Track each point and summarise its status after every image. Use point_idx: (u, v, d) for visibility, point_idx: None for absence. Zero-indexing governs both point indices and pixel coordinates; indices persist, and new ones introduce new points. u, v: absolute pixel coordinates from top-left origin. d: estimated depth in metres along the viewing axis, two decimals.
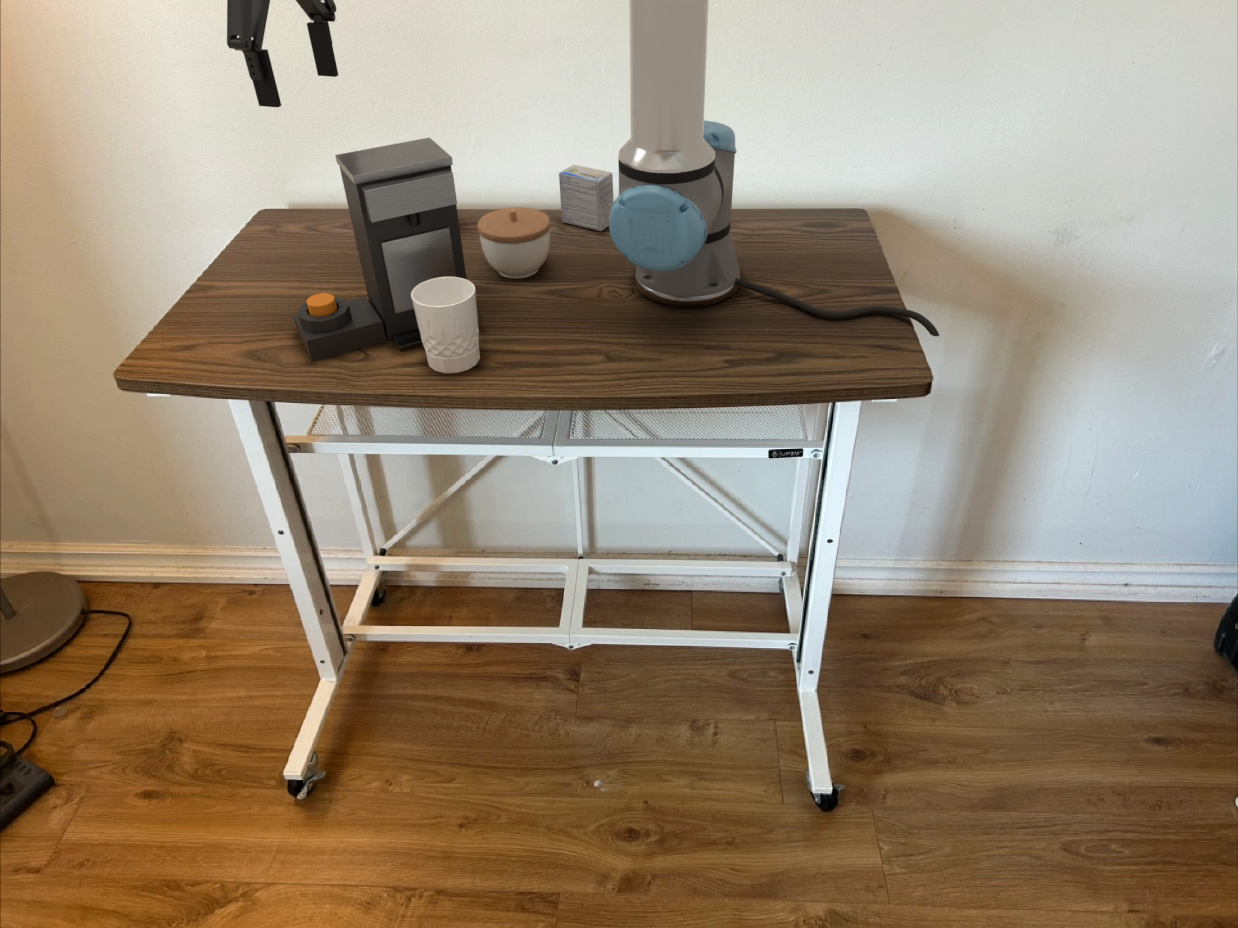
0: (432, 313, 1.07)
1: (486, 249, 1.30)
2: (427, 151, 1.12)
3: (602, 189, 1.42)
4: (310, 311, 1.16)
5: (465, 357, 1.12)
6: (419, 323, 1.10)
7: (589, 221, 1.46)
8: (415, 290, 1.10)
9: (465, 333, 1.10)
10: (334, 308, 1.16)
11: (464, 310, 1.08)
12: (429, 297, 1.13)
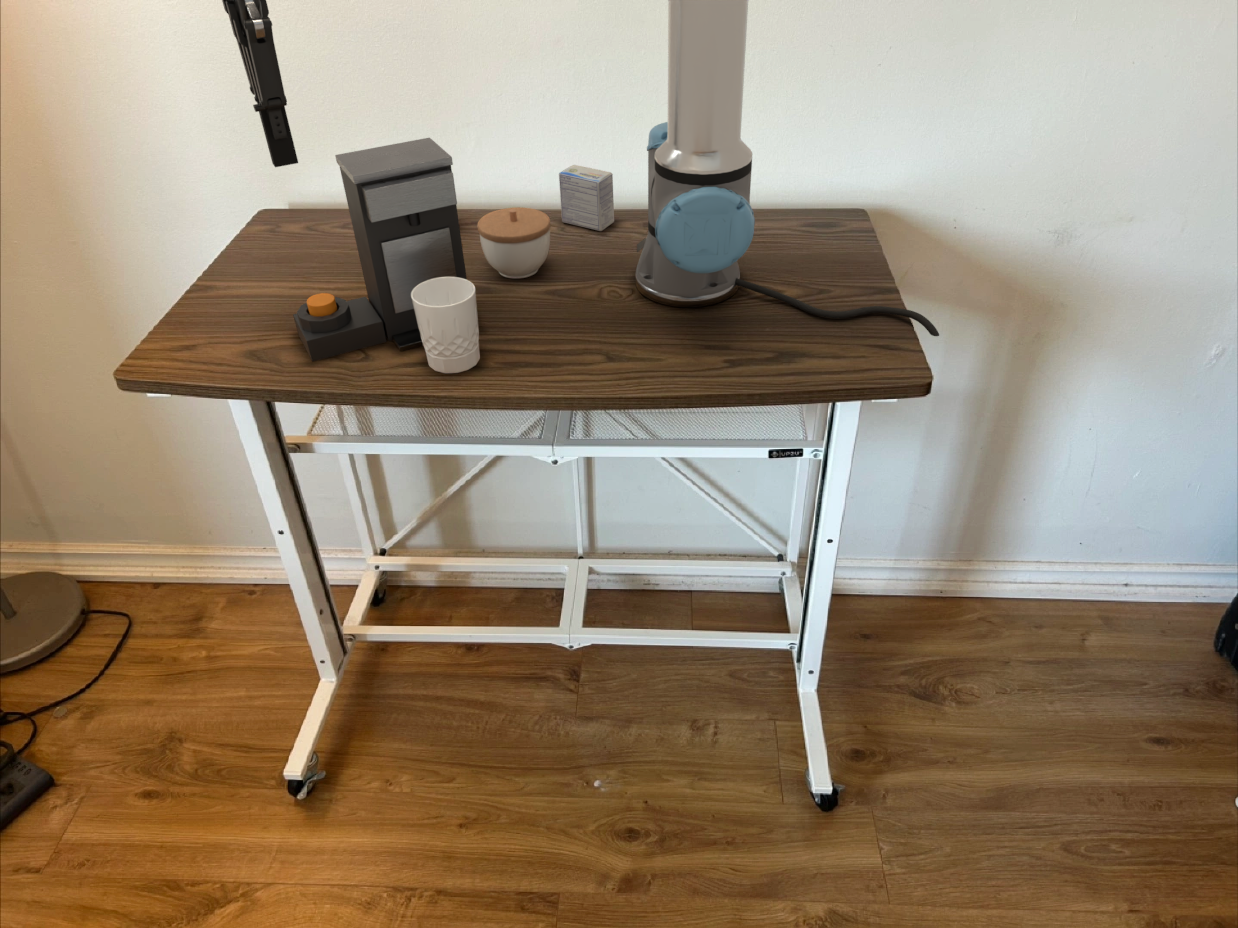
0: (432, 313, 1.07)
1: (486, 249, 1.30)
2: (427, 151, 1.12)
3: (602, 189, 1.42)
4: (310, 311, 1.16)
5: (465, 357, 1.12)
6: (419, 323, 1.10)
7: (590, 221, 1.46)
8: (415, 290, 1.10)
9: (465, 333, 1.10)
10: (334, 308, 1.16)
11: (464, 310, 1.08)
12: (429, 297, 1.13)
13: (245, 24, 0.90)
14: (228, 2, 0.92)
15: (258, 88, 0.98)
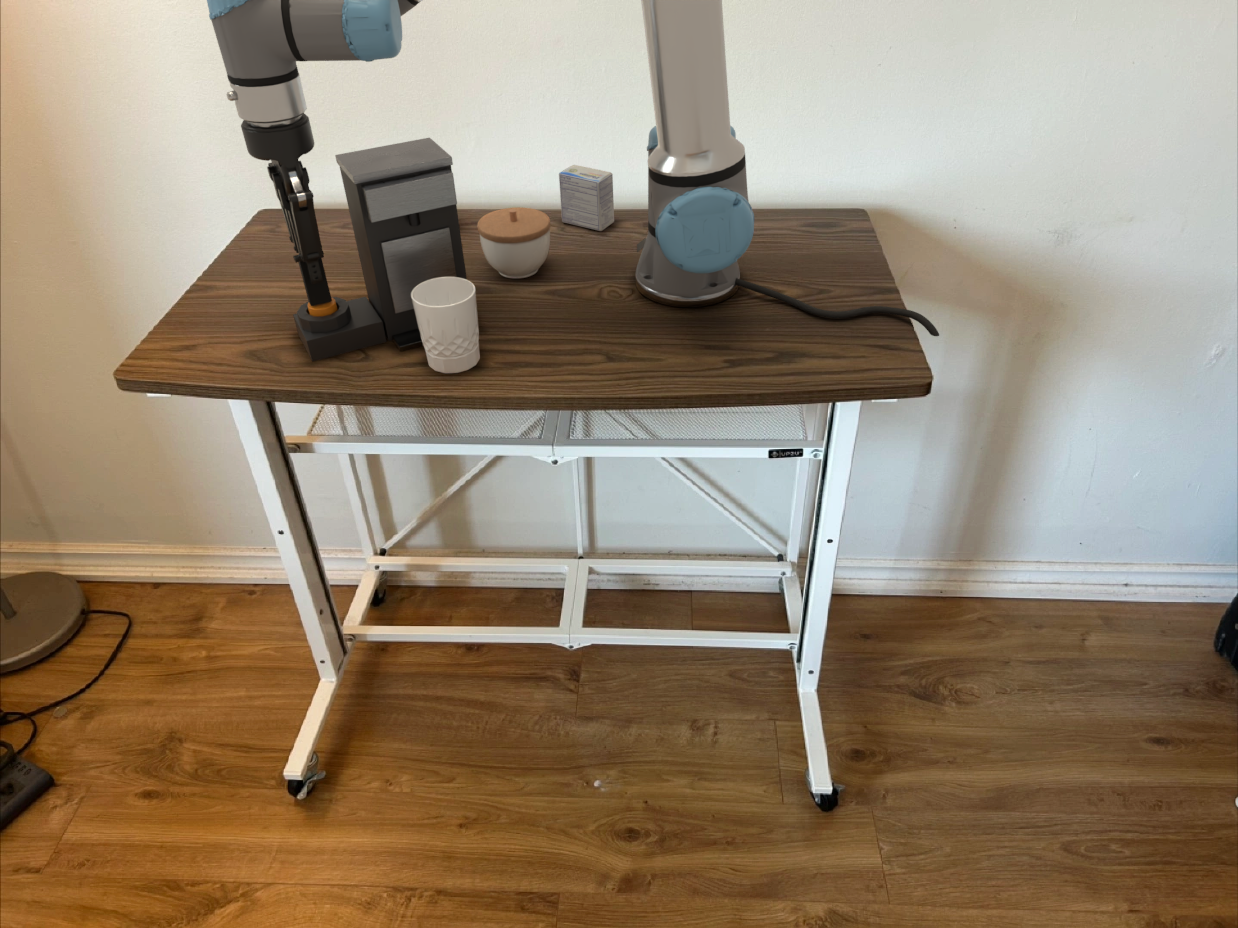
0: (432, 313, 1.07)
1: (486, 249, 1.30)
2: (427, 151, 1.12)
3: (602, 189, 1.42)
4: (311, 314, 1.16)
5: (465, 357, 1.12)
6: (419, 323, 1.10)
7: (589, 221, 1.46)
8: (415, 290, 1.10)
9: (465, 333, 1.10)
10: (335, 311, 1.17)
11: (464, 310, 1.08)
12: (429, 297, 1.13)
13: (290, 198, 1.02)
14: (274, 175, 1.04)
15: (298, 243, 1.09)
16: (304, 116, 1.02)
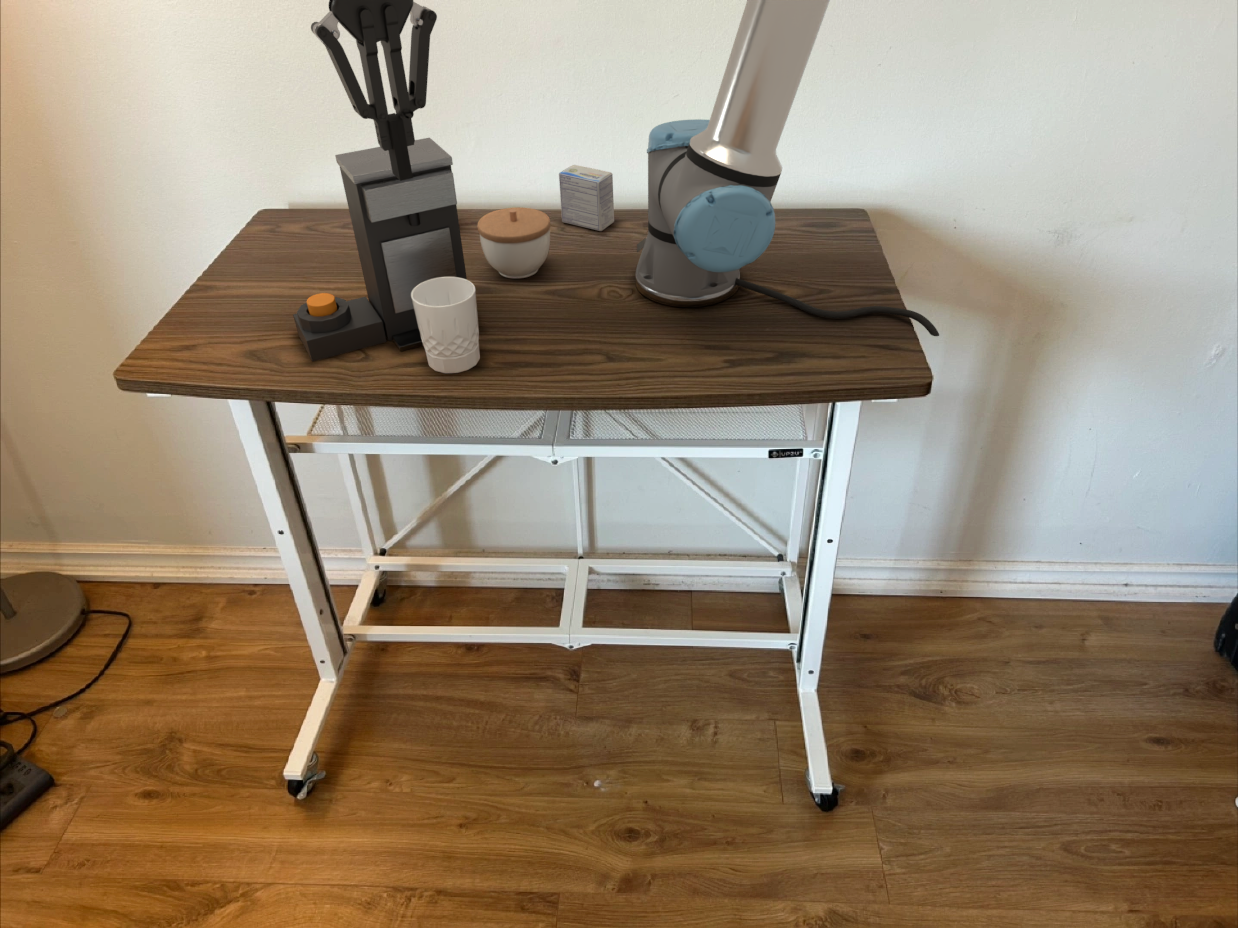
0: (432, 313, 1.07)
1: (486, 249, 1.30)
2: (427, 151, 1.12)
3: (602, 189, 1.42)
4: (310, 311, 1.16)
5: (465, 357, 1.12)
6: (419, 323, 1.10)
7: (589, 221, 1.46)
8: (415, 290, 1.10)
9: (465, 333, 1.10)
10: (334, 308, 1.16)
11: (464, 310, 1.08)
12: (429, 297, 1.13)
13: None
14: None
15: (367, 93, 0.96)
16: None
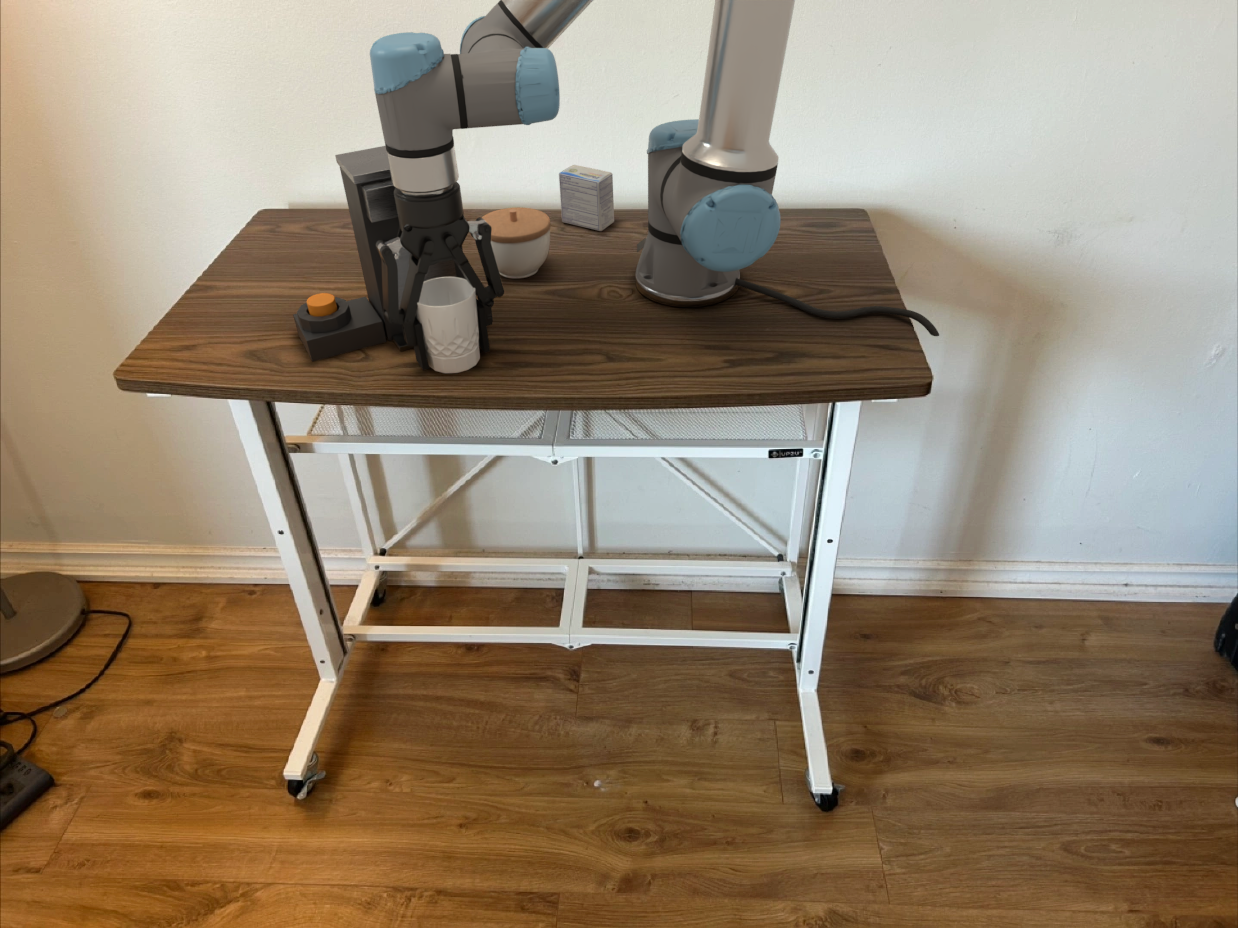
0: (432, 313, 1.07)
1: None
2: None
3: (602, 189, 1.42)
4: (310, 311, 1.16)
5: (465, 357, 1.12)
6: None
7: (589, 221, 1.46)
8: None
9: (465, 333, 1.10)
10: (334, 308, 1.16)
11: (464, 310, 1.08)
12: (429, 297, 1.13)
13: None
14: None
15: (402, 298, 1.09)
16: (429, 197, 0.99)
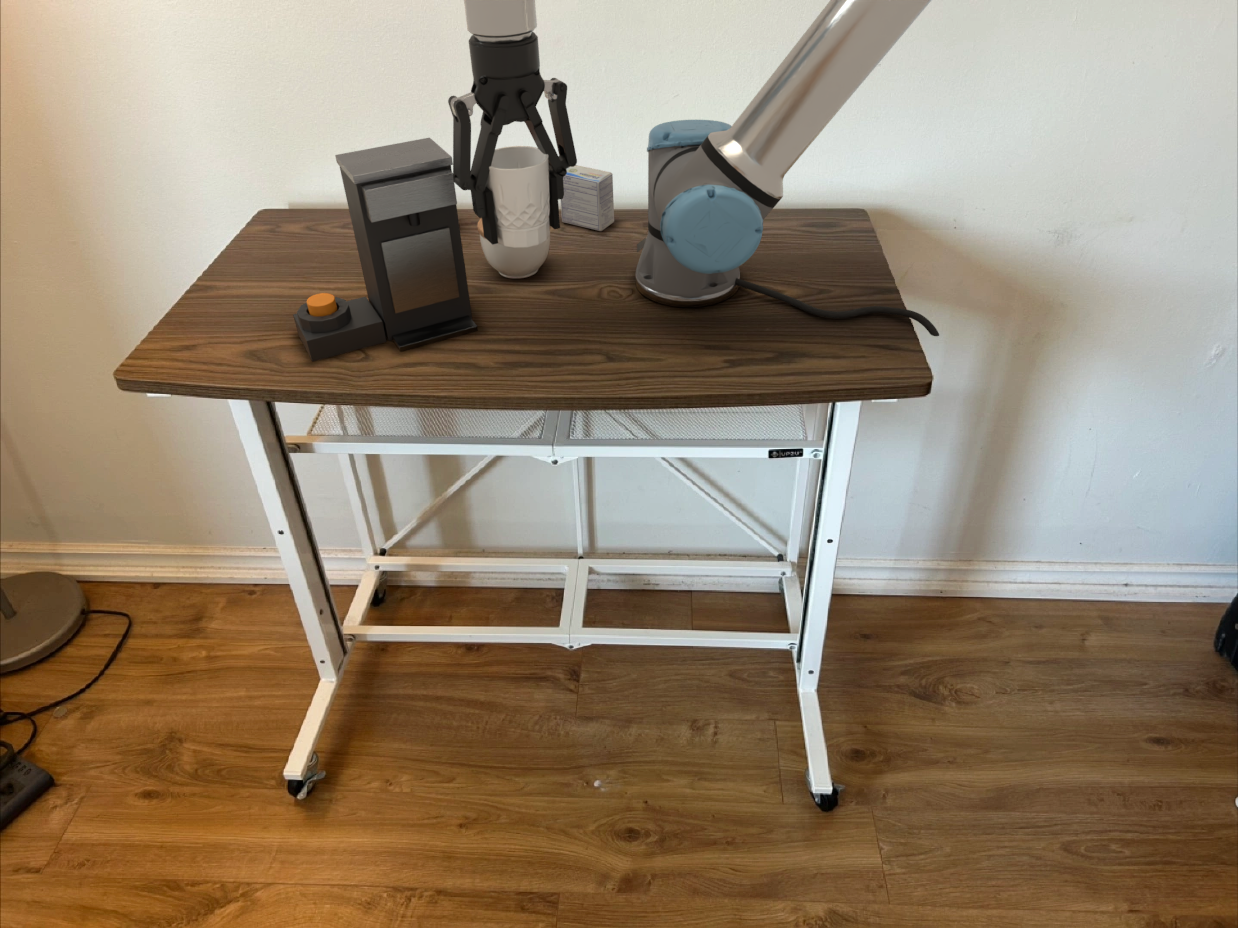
0: (505, 178, 1.02)
1: (486, 249, 1.30)
2: (427, 151, 1.12)
3: (602, 189, 1.42)
4: (310, 311, 1.16)
5: (536, 229, 1.07)
6: None
7: (589, 221, 1.46)
8: None
9: (538, 202, 1.05)
10: (334, 308, 1.16)
11: (538, 175, 1.03)
12: (498, 168, 1.08)
13: None
14: None
15: (472, 164, 1.04)
16: (507, 43, 0.94)
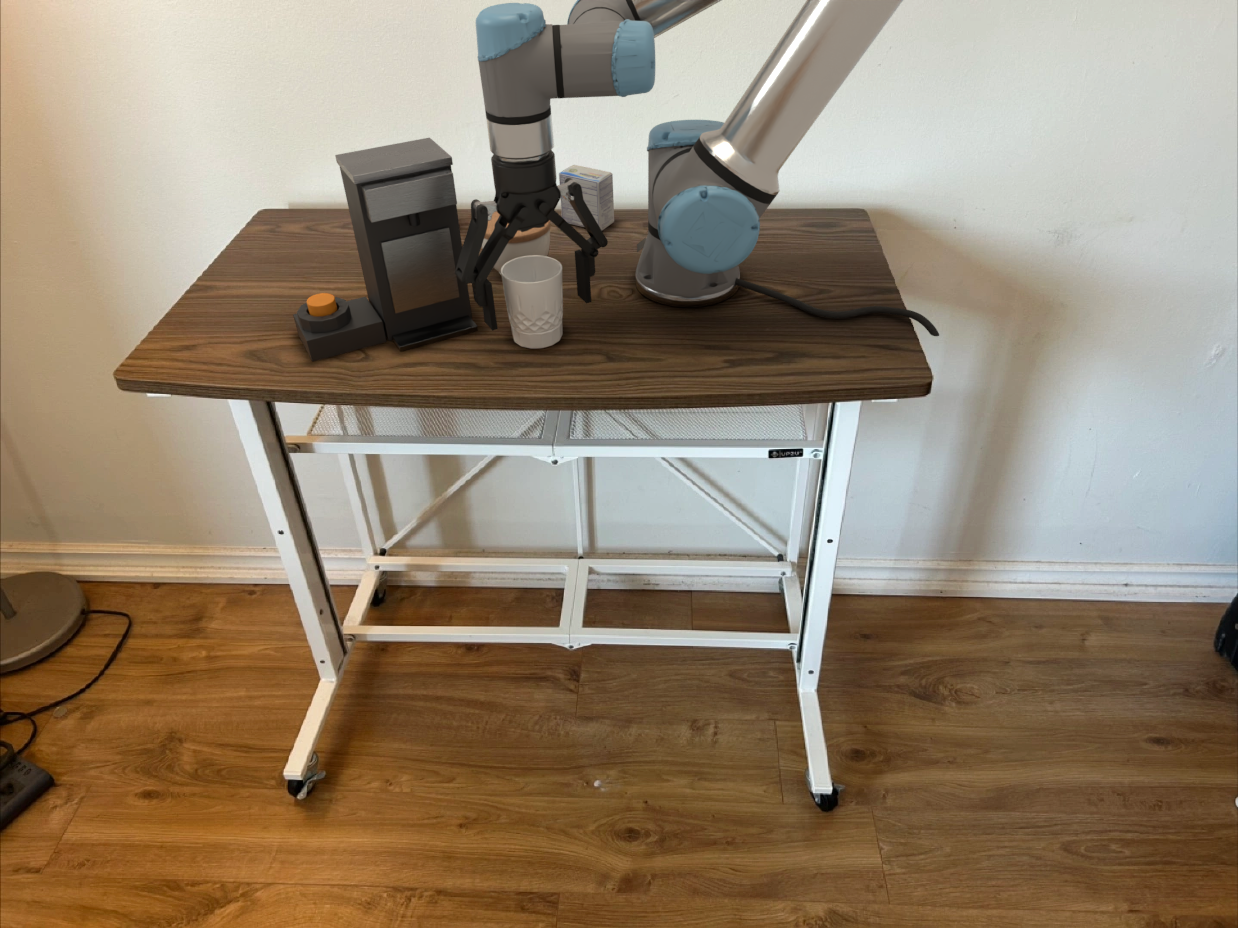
0: (523, 289, 1.12)
1: None
2: (427, 151, 1.12)
3: (602, 189, 1.42)
4: (310, 311, 1.16)
5: (551, 332, 1.17)
6: (508, 299, 1.14)
7: None
8: (504, 268, 1.15)
9: (552, 309, 1.15)
10: (334, 308, 1.16)
11: (553, 286, 1.13)
12: (515, 275, 1.17)
13: None
14: None
15: (477, 258, 1.11)
16: (527, 163, 1.02)
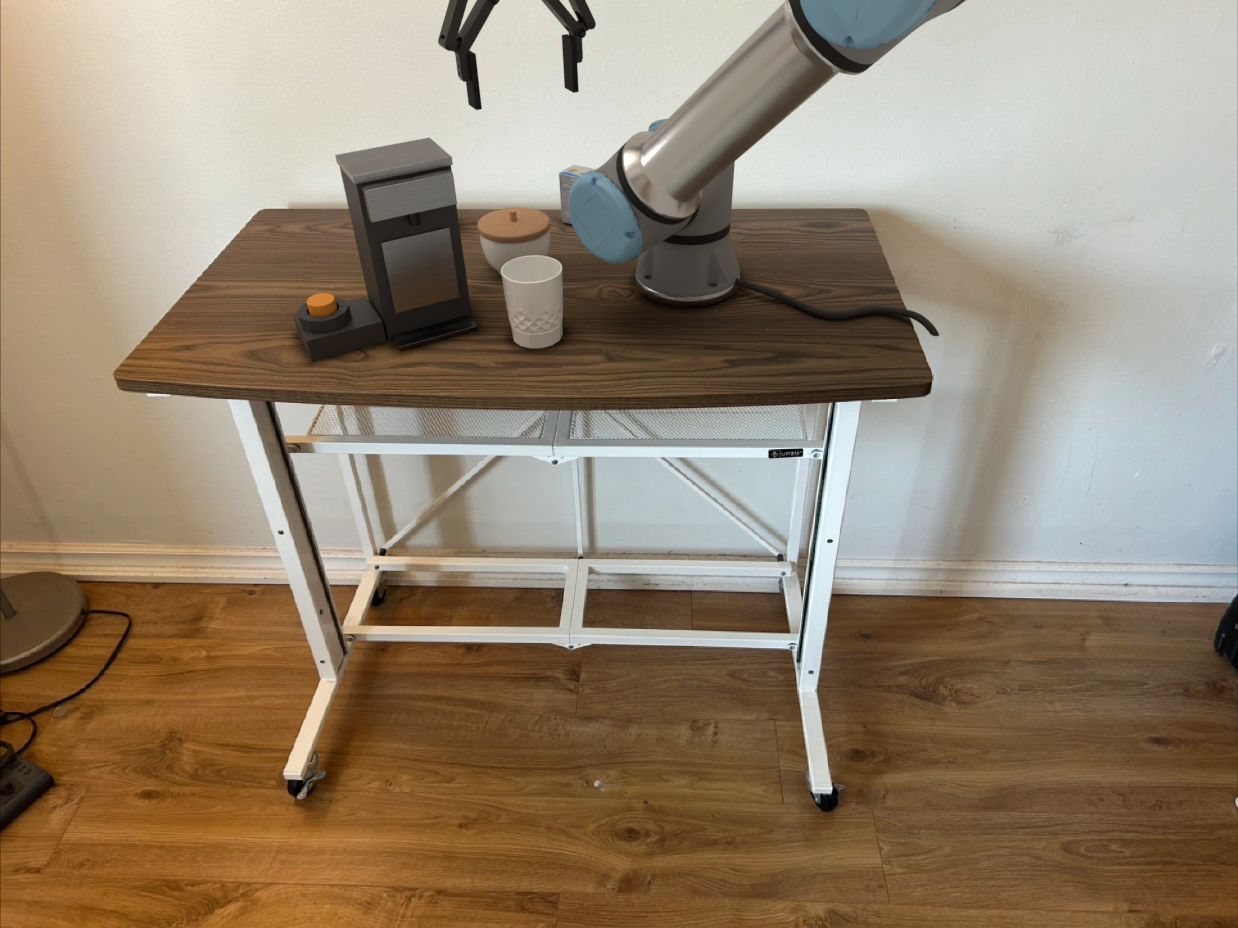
0: (523, 289, 1.12)
1: (486, 249, 1.30)
2: (427, 151, 1.12)
3: None
4: (310, 311, 1.16)
5: (551, 332, 1.17)
6: (508, 299, 1.14)
7: None
8: (504, 268, 1.15)
9: (552, 309, 1.15)
10: (334, 308, 1.16)
11: (553, 286, 1.13)
12: (515, 275, 1.17)
13: None
14: None
15: (461, 28, 1.08)
16: None
